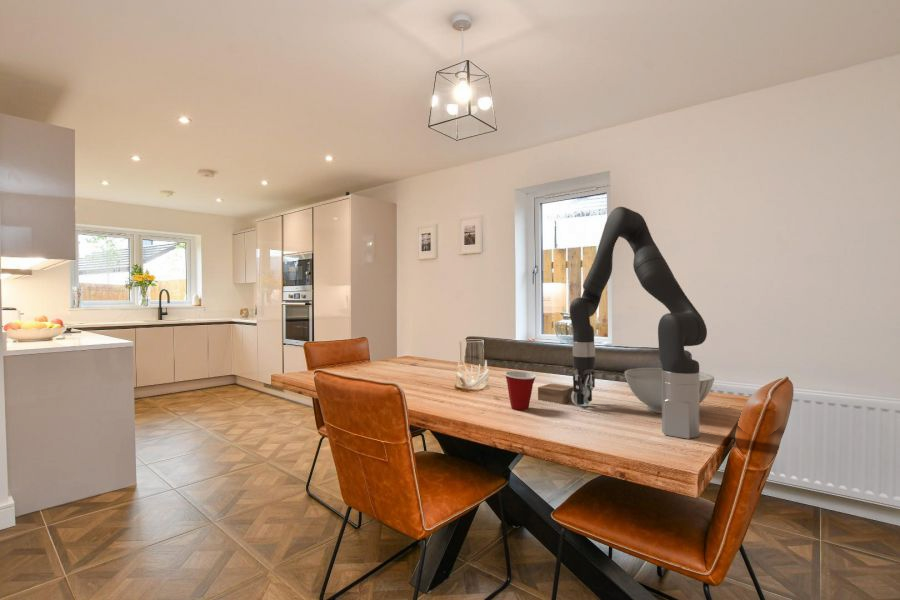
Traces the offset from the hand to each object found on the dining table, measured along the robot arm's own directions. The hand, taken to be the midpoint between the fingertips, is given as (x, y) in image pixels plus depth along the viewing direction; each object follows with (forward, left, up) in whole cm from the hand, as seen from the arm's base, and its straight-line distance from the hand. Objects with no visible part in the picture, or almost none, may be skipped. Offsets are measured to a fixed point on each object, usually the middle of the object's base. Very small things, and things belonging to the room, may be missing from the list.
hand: (584, 402), depth 157 cm
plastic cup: (-17, +16, -1) cm, 23 cm away
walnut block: (+3, +12, -1) cm, 12 cm away
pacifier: (+1, +2, +1) cm, 2 cm away
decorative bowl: (+11, -24, -1) cm, 27 cm away
